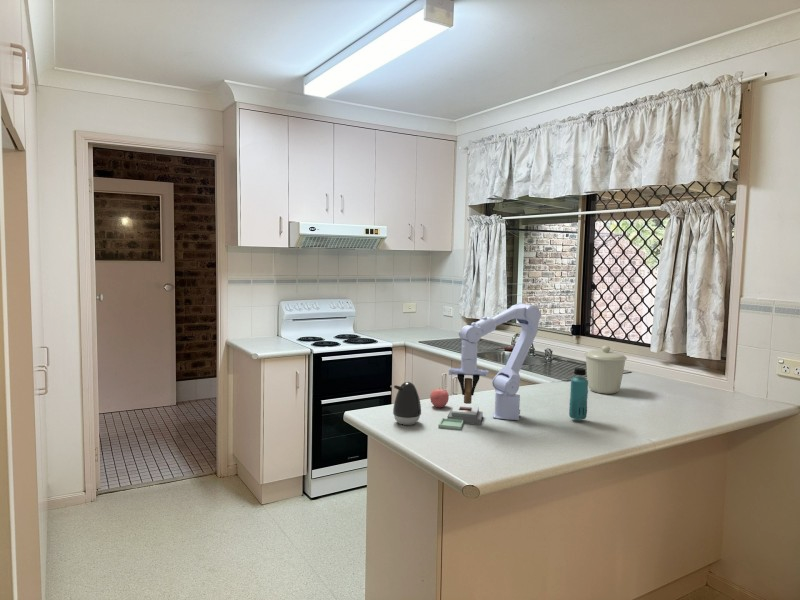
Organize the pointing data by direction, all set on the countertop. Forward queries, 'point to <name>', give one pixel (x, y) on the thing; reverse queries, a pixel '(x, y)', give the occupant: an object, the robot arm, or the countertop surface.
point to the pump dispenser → (407, 404)
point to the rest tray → (451, 424)
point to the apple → (439, 397)
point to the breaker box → (466, 414)
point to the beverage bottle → (578, 395)
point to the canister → (604, 370)
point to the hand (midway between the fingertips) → (467, 394)
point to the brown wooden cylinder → (468, 390)
